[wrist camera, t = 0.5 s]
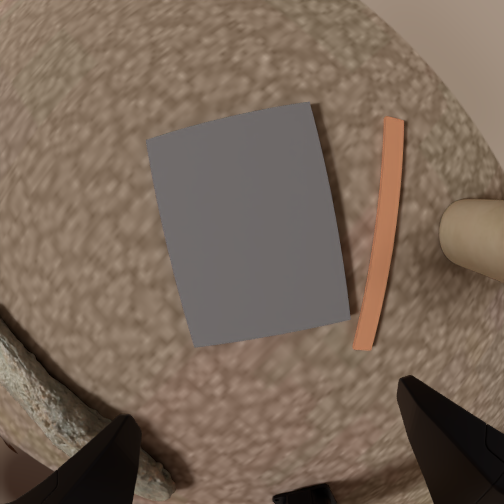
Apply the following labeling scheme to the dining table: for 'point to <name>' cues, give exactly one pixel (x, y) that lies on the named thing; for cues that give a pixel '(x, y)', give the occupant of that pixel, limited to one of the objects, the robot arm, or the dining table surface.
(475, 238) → the candle
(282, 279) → the mat
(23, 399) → the long grey stone
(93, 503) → the robot arm
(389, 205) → the orange curved strip
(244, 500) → the dining table surface
